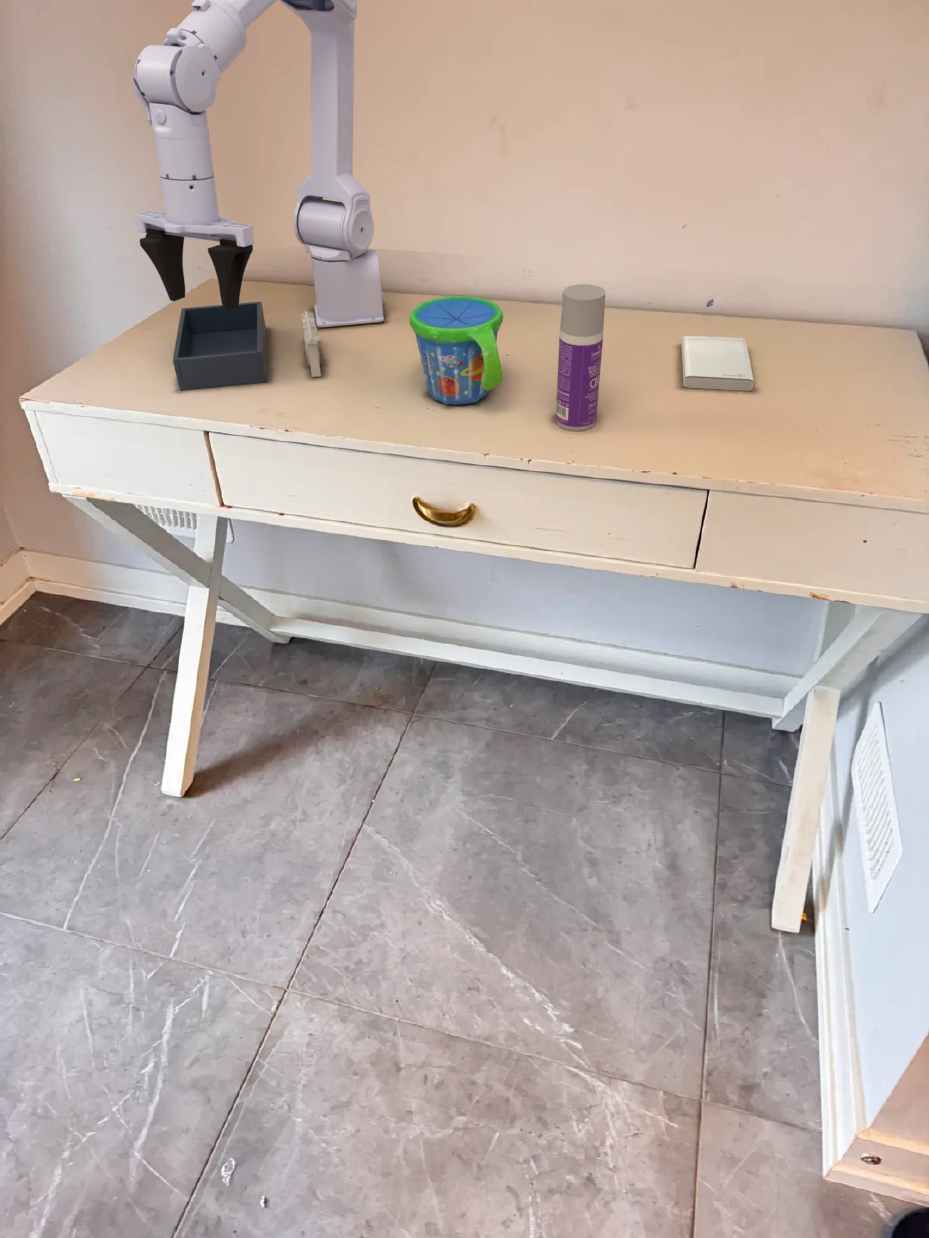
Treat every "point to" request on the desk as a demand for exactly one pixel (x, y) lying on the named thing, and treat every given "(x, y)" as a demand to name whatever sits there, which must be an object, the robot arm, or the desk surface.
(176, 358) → the tote
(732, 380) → the hard drive
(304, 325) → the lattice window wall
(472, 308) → the snack cup
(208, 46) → the robot arm
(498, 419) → the desk surface
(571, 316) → the container
